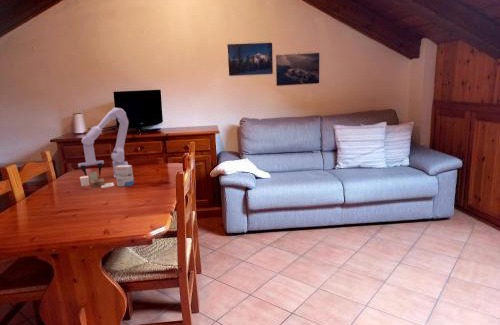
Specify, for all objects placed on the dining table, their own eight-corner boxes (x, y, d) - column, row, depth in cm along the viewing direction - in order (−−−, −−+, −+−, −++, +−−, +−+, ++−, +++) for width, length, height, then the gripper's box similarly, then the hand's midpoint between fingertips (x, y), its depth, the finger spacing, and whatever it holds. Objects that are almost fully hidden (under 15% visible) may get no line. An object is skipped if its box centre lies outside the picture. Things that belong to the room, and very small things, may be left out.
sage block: (97, 179, 219) (96, 171, 218) (98, 181, 215) (96, 173, 214) (90, 180, 217) (88, 173, 216) (90, 182, 213) (89, 174, 212)
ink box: (134, 183, 206) (132, 164, 203) (131, 186, 201) (128, 166, 198) (121, 183, 206) (118, 165, 204) (117, 186, 202) (114, 167, 199)
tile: (113, 183, 209) (113, 182, 208) (114, 186, 202) (114, 185, 202) (101, 185, 206) (100, 184, 206) (101, 188, 200) (101, 187, 199)
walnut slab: (104, 183, 210) (103, 178, 209) (104, 185, 204) (104, 181, 203) (91, 185, 207) (91, 180, 207) (92, 188, 201) (91, 183, 200)
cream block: (89, 183, 211) (88, 175, 210) (89, 185, 207) (88, 177, 206) (81, 184, 210) (80, 176, 208) (81, 186, 206) (80, 178, 204)
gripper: (102, 152, 219) (105, 173, 222) (77, 155, 213) (80, 176, 216) (102, 154, 213) (105, 175, 216) (76, 157, 207) (80, 179, 210)
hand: (93, 176), depth 216 cm, fingers open, 7 cm apart
